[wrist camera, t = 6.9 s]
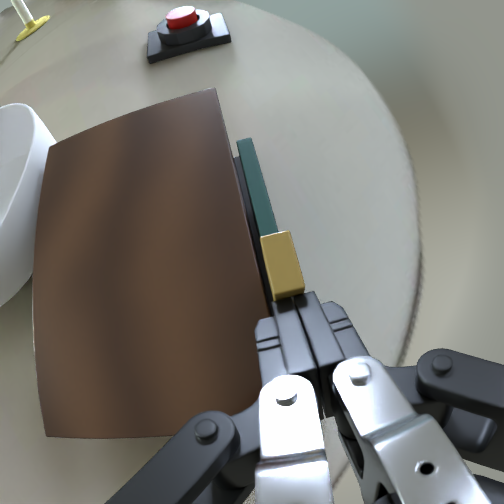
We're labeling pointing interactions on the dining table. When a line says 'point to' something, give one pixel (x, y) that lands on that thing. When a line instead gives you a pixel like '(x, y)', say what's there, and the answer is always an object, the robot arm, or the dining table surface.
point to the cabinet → (146, 276)
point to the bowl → (19, 192)
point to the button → (181, 17)
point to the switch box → (187, 37)
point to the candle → (27, 19)
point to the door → (270, 230)
